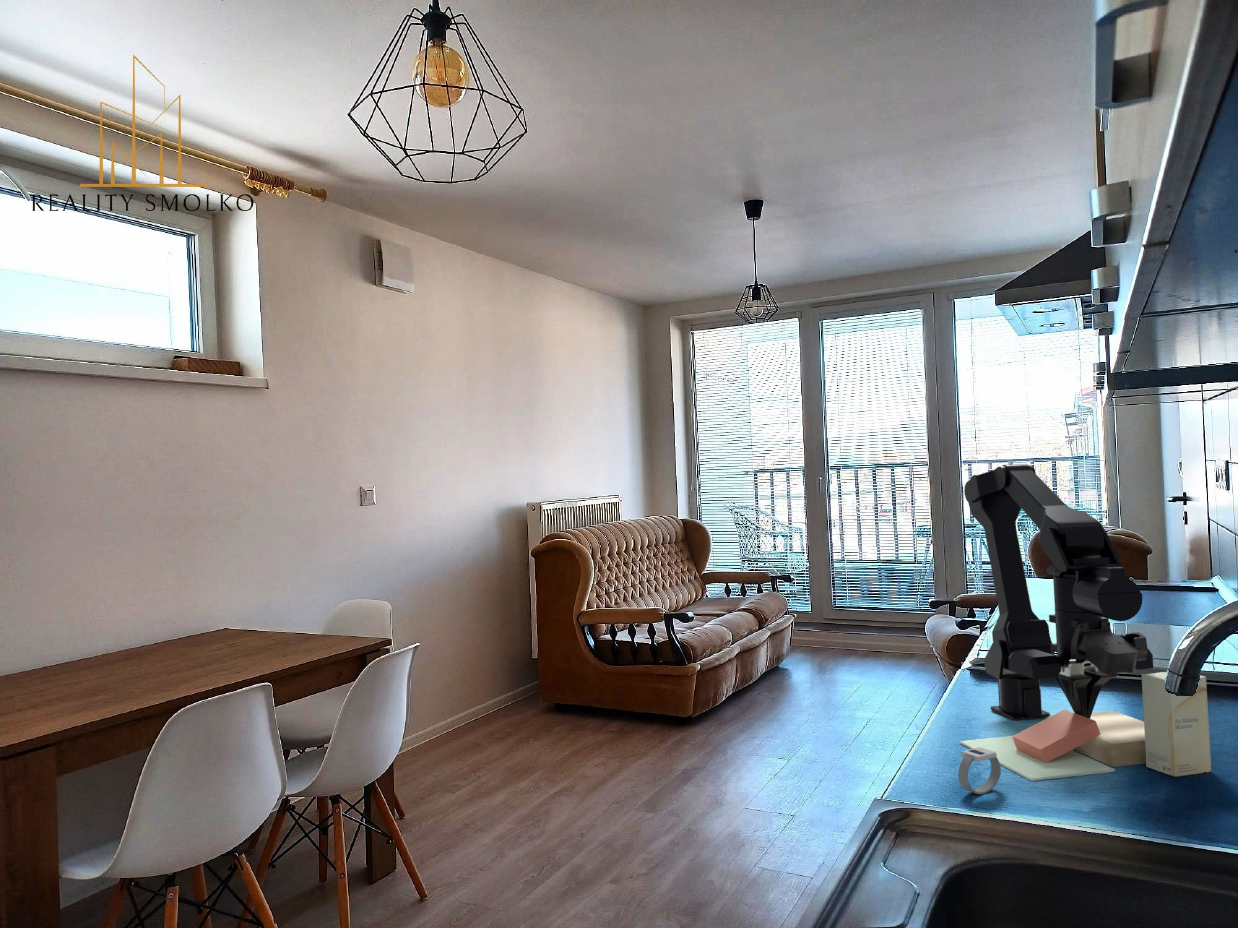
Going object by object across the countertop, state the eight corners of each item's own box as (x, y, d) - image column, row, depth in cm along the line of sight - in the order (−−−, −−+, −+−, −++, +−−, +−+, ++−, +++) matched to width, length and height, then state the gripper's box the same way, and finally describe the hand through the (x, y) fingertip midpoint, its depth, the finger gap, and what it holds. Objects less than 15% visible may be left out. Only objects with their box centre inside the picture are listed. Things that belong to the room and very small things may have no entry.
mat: (959, 743, 123) (959, 740, 123) (1034, 735, 125) (1034, 733, 125) (1031, 780, 108) (1031, 778, 108) (1114, 771, 110) (1114, 769, 110)
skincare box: (1174, 778, 106) (1169, 681, 107) (1144, 767, 111) (1139, 673, 111) (1213, 771, 108) (1208, 676, 108) (1182, 760, 112) (1177, 669, 113)
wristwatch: (988, 783, 107) (986, 744, 107) (1007, 790, 105) (1005, 749, 105) (953, 793, 105) (951, 752, 105) (972, 800, 102) (970, 759, 102)
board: (1047, 737, 124) (1046, 717, 124) (1113, 730, 126) (1112, 710, 126) (1113, 766, 111) (1111, 743, 111) (1186, 758, 113) (1185, 736, 113)
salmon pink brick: (1045, 763, 113) (1040, 749, 113) (1016, 749, 119) (1011, 736, 119) (1100, 734, 114) (1095, 720, 114) (1069, 722, 120) (1064, 709, 120)
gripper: (1057, 623, 109) (1064, 745, 108) (1183, 613, 112) (1190, 731, 112) (1003, 610, 119) (1009, 722, 119) (1119, 601, 123) (1125, 709, 123)
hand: (1083, 721), depth 118 cm, fingers closed
